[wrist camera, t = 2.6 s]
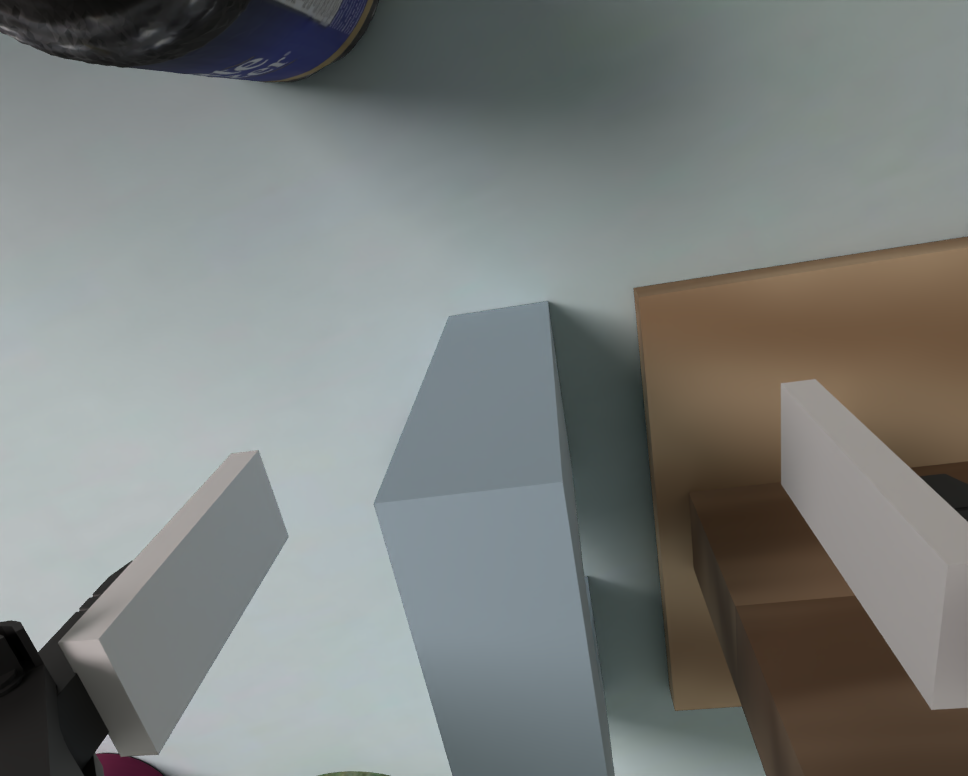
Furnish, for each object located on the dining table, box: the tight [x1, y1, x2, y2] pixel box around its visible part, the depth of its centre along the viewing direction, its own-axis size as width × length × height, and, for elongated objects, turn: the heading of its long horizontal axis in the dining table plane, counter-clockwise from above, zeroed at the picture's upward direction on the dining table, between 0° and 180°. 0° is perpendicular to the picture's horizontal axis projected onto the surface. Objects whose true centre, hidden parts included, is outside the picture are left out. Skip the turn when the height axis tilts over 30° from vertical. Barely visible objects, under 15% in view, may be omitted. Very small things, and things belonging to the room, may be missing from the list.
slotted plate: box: [374, 301, 615, 776], centre depth 18 cm, size 16×3×10 cm, turn 10°
